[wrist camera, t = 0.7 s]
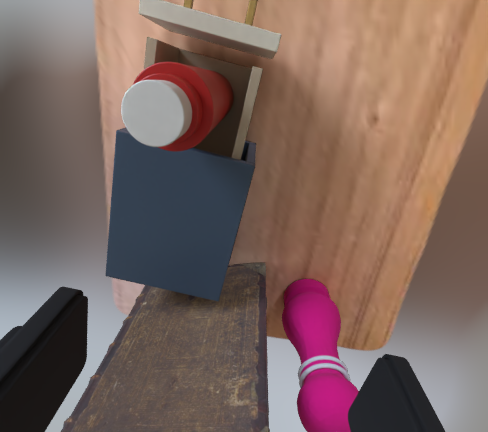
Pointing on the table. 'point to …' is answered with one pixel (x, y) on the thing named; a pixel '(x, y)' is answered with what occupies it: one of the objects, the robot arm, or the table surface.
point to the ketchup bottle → (175, 105)
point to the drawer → (215, 62)
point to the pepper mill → (318, 357)
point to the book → (185, 363)
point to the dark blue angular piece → (175, 215)
